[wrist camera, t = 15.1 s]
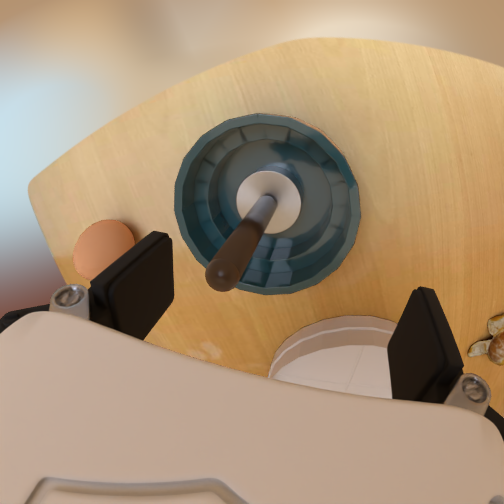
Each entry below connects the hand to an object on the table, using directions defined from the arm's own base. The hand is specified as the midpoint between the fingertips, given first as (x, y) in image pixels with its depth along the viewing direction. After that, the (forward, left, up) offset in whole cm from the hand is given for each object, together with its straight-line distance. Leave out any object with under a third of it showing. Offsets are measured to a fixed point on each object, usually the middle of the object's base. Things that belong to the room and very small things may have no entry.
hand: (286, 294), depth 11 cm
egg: (+10, -21, -20) cm, 31 cm away
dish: (+25, +11, -20) cm, 33 cm away
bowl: (+2, -3, -19) cm, 20 cm away
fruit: (+14, +31, -20) cm, 39 cm away
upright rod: (+2, -3, -19) cm, 19 cm away
